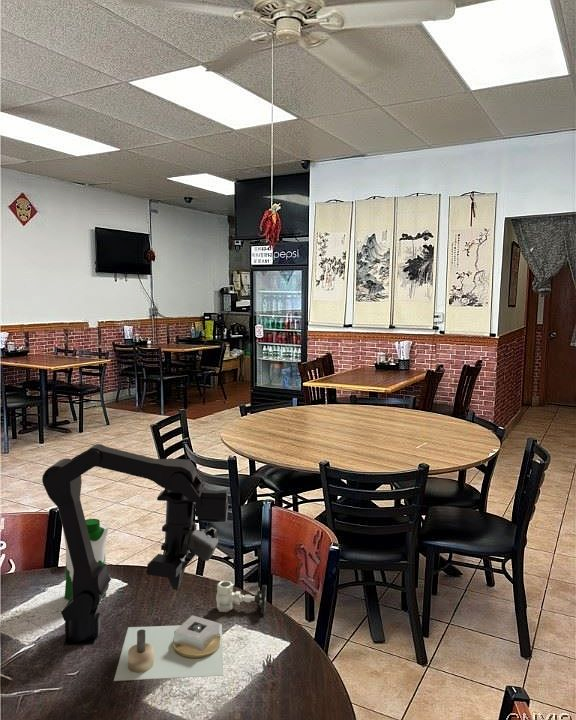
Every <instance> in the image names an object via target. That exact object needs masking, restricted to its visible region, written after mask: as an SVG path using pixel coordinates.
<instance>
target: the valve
mask: <svg viewBox="0 0 576 720" xmlns="http://www.w3.org/2000/svg"><path fill="white" fill-rule="evenodd" d="M267 586H268V585H267V584H263V585H261V589H260V590H258V591H257V593H256V594H255V595H254V596H252V594H245V595H244V594H243V593H242V591H240V590H236V591H235V592H234V584H233V583H232V582H231V581H229V580H222V581H219V582H218V583H217V587H216V591H217V592H216V595H215V600H216V609H217V610H218V612H219V613H222V612H223V613H228V612H230V611H231V610H232V609H233V604H235V605H240V604H241V602H242V603H243V602H245V603H251V602H254V604H256V607H257V608H259V609H260V615H262V614H263V615H265V613H266V606H267V588H268V587H267Z"/></svg>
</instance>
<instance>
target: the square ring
mask: <svg viewBox="0 0 576 720" xmlns="http://www.w3.org/2000/svg"><path fill="white" fill-rule="evenodd" d="M220 624H221V623H220V622H218V621H217V622H216V621H213V620H211V619H206V618H203V617H199V616H196V615H190V617H188V618H187V619H186V620H185V621H183V623H182V624H181V626H180V627H179V628H178V629H176V630H175V631H174V643H178V644H181V645H184V646H187V647H190V648H194V649H197V650H200V651H203V650H204V649H205V648H206V647H207V646H208V645H209V644H210V643H211V642H212V641H213V640H214V639H215V637H216V636H217V635H218V634H219V625H220ZM195 625H200V626H201V632H200V633H198V632H194V631H193V626H195Z"/></svg>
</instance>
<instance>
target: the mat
mask: <svg viewBox="0 0 576 720" xmlns="http://www.w3.org/2000/svg"><path fill="white" fill-rule="evenodd" d="M181 625H182V624H181ZM181 625H179V624H178V625H161V626H159V625H157V626H153V625H152V626H130V627H129V626H128V627H127V631H126V635H125V638H124V642H123V645H122V649H121V653H120V655H119V656H120V657H119V660H118V664H117V667H116V672H115V675H114V678H113V681H114V682H119V681H138V680H156V679H157V680H158V679H160V680H161V679H178V678H197V677H198V678H200V677H217V676H218V677H219V676H220V677H221V676H224V658H223V657H224V655H223V654H224V652H223V651H224V649H223V624H222V623H220V625H219V634H220V647H219V649H218V650H217V651H216V652H215V653H214V654H212V655H210V656H208V657H205V658H201V659H188V658H184V657H181V656H179V655H178V654H177V653H176V652H175V651H174V649H173V638H174V631H175V630H176V629H178V628H179V627H180V626H181ZM138 630H145V643H147V644H150V645H152V646H153V648H154V663H153V666H152V668H151V669H149V670H148V671H145V672H141V673H135V672H132V671H130V670H129V669H128V651H129V649H130V648H131V647H132V646H134V645H136V644H137V631H138Z"/></svg>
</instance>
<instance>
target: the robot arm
mask: <svg viewBox="0 0 576 720" xmlns="http://www.w3.org/2000/svg"><path fill="white" fill-rule="evenodd" d="M95 467H97V468H102V469H106V470H110V471H113V472H118V473H122V474H126V475H130V476H134V477H138V478H142V479H146V480H150V481H152V482H154V483H155V484H157V485H158V486H159V487H160V488H163V489H164V490H162V491H160V492H159V494H158V495H157V497H156V500H157V501H160V502H163V501H164V502H166V503H165V505H166V507H165V509H166V510H165V523H164V524H163V525H162V527H161V532H163V533H164V542H163V543H162V544H161V545H160V547H161V548H160V551H165V552H166V553H165V554H161V553H158V554H156V555H155V556H154V557H153V558H152V559H151V560H150V561H149V562H148V563H147V566H146V574H147V575H148V576H153V577H162V578H167V579H168V582H169V584H170V586H171V588H172V590H174V591H179V589H180V587H181V583H182V580H183V576H184V574H185V570H186V567H187V566H188V565H189V564H190V562H191V561H192V560H193V559H194V557H195V556H197V557H198V558H201V560H202V561H205V562H207V561H209V560H210V559H211V557H212V556H214V553H215V550H216V548H217V546H218V544H219V537H218V530H217V529H216V528H214V527H209V528H208V529H207V530H201V529H197V523H196V521H193V519H194V516H195V517H196V519H197V520H198V521H199V522H200V523H201V522H202V523H219V524H220V523H221V524H227V521H228V513H229V512H228V511H229V501H228V498H229V497H228V490H226V489H219V490H214V489H212V490H211V489H205V485H204V483H203V482H202V481H201V479H200V478H199V476H198V475H197V469H196V467H195V465H194V463H193V462H192V461H191V460H188V459H182V458H181V459H180V458H154V457H149V456H145V455H141V454H137V453H133V452H129V451H125V450H121V449H118V448H114V447H110V446H109V447H108V446H105V445H103V444H102V443H97V444H94V445H92V446H91V447H89V448H88V449H86V450H85V451H83V452H81V453H80V454H77V455H76V456H74V457H73V458H67V457H66V458H61V459H60V460H59V461H57V462H55V463H54V464H52V465H51V466H50V467H48V468H47V469H46V470H45V471H44V473H43V475H42V477H41V481H42V486H43V487H44V489H45V491H46V494H47V496H48V498H49V499H50V500H51V502H52V503H53V504H54V505H55V506H56V507H57V509H58V513H59V518H60V521H61V526H62V530H64V532H63V535H64V534H65V538H66V542H67V546H68V550H69V554H70V558H71V562H72V566H73V580H72V597H71V598H70V600H69V601H68V600H67V601H68V602H67V603H66V604H65V606H64V607H63V608H62V610H60V611H61V612H60V614H61V616H62V619H63V621H64V640H63V641H62V646H80V645H81V646H82V645H84V646H85V645H94V644H95V642H96V639H97V638H98V637H100V636H99V635H100V632H101V618H102V617H101V614H102V613H100V612H99V604H100V603H101V601H102V600H103V599H104V598H103V596H104V595H105V593H106V594H107V591H108V589H109V586H110V583H111V580H112V578H111V577H110V574H109V573H108V565H107V564H108V563H105V564H104V565H101V566H100V565H99V563H98V562H97V561H96V560H95V557H94V553H93V549H92V545H91V541H90V537H89V533H88V529H87V525H86V521H85V520H86V518H85V514H84V510H83V505H82V501H81V493H82V492H81V491H82V483H83V482H82V481H83V479H82V476H83V475H84V474H85V473H87V472H88V471H90V470H91V469H93V468H95ZM194 503H195V508H194ZM194 509H195V510H194ZM65 538H64V539H65Z"/></svg>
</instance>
